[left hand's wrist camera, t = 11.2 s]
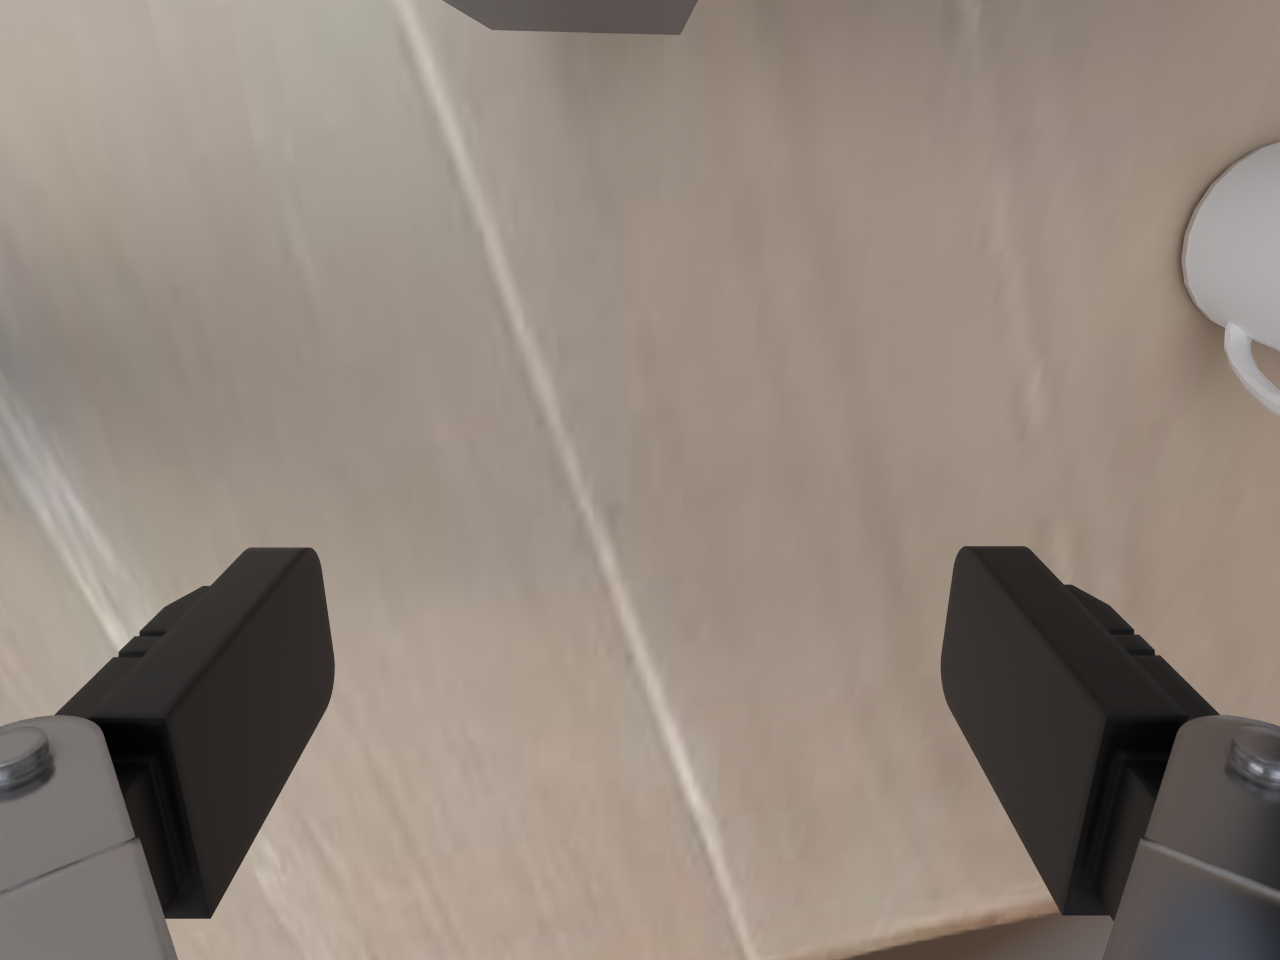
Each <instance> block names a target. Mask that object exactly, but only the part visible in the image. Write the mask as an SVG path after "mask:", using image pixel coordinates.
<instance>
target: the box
mask: <svg viewBox="0 0 1280 960" xmlns="http://www.w3.org/2000/svg"><path fill="white" fill-rule="evenodd" d="M443 1H444V2H446V3H448V4H449V5H451V6H453V7H454V8H456V9H458V10H459V11H461V12H463V13H464V14H466V15H468V16H469V17H471V18H473V19H475V20H476V21H478V22H480V23H481V24H483V25H485V26H486V27H488V28H490V29H491V30H514V31H552V32H589V33H626V34H663V35H680V34H681V32H682V30H683V28H684V26H685V24H686V22H687V20H688V18H689V16H690V15H691V13H692V11H693V9H694V7H695V5H696V3H697V1H698V0H443Z"/></svg>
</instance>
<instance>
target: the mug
mask: <svg viewBox="0 0 1280 960" xmlns="http://www.w3.org/2000/svg"><path fill="white" fill-rule="evenodd" d="M1181 260H1182V268H1183V276H1184V283H1185V286H1186V288H1187V290H1188V292H1189V294H1190V297H1191V299H1192V301H1193V303H1194V305H1195V306H1196V307H1197V308H1198V309H1199V310H1200V311H1201V312H1202V313H1203V314H1204V315H1205V316H1206V318H1207V319H1208V320H1210V321H1211V322H1213V323H1215V324H1217V325H1219V326H1221V327H1223V328H1225V341H1224V350H1225V353H1226V355H1227V358H1228V361H1229V364H1230V366H1231V368H1232V369H1233V371H1234V372H1235V373H1236V375H1237V376H1238V378H1239V379H1240V381H1241V382H1242V384H1243V385H1244V387H1245V388H1246V389H1247V390H1248V392H1249V393H1250V394H1252V395H1253V396H1254V397H1255V398H1256V399H1257V400H1258V401H1259V402H1260V403H1261V404H1262V405H1264V406H1265V407H1266V408H1267V409H1268V410H1269V411H1271V412H1273V413H1275V414H1277V415H1279V416H1280V389H1278V388H1277V387H1276V386H1275V385H1273V384H1272V383H1271V382H1270V381H1269V380H1267V379H1266V377H1265V376H1264V375H1263V374H1262V373H1261V372H1260V371H1259V369H1258V367H1257V365H1256V363H1255V361H1254V359H1253V356H1252V353H1251V343H1252V340H1253V341H1255V342H1258V343H1260V344H1263V345H1265V346H1267V347H1270V348H1272V349H1275V350H1277V351H1279V352H1280V141H1277V142H1274V143H1271V144H1268V145H1265V146H1263V147H1260V148H1257V149H1256V150H1254V151H1252V152H1251V153H1249V154H1248V155H1246V156H1244V157H1243V158H1241V159H1240V160H1238V161H1236V162H1235V163H1233V164H1232V165H1231V166H1230V167H1229V168H1228V169H1227V170H1226V171H1225V172H1224V173H1223V174H1222V175H1221V176H1220V177H1219V178H1218V179H1217V180H1216V181H1214V182H1213V183H1212V184H1211V186H1210V187H1209V188H1208V190H1207V191H1206V193H1205V194H1204V196H1203V197H1202V199H1201V200H1200V202H1199V203H1198V205H1197V206H1196V208H1195V209H1194V212H1193V214H1192V217H1191V219H1190V222H1189V224H1188V227H1187V230H1186V232H1185V236H1184V243H1183V250H1182V258H1181Z"/></svg>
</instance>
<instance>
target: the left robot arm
mask: <svg viewBox="0 0 1280 960" xmlns="http://www.w3.org/2000/svg"><path fill="white" fill-rule="evenodd" d="M334 671H335V664H334V653H333V646H332V639H331V632H330V625H329V618H328V611H327V604H326V597H325V589H324V582H323V575H322V569H321V564H320V560H319V558H318V555H317V553H316V552H315V551H314V550H313V549H312V548H248V549H246V550H245V551H244V552H243V553H242V554H241V555H240V556H239V557H238V558H237V559H236V560H235V561H234V562H233V563H232V564H231V565H230V566H229V567H228V568H227V569H226V570H225V572H224V573H223V574H222V575H221V576H220V577H219V578H218V579H217V580H216V581H215V582H214V583H213V584H212V585H211V586H202V587H200V588H199V589H197V590H195V591H193V592H191V593H189V594H188V595H186V596H184V597H182V598H180V599H178V600H177V601H175V602H173V603H171V604H169V605H167V606H166V607H164V608H163V609H162V610H161V611H160V612H159V613H158V614H157V615H156V616H155V617H154V618H153V619H152V620H151V621H150V622H149V623H148V624H147V625H146V626H145V627H144V628H143V629H142V630H141V631H140V636H135V637H134V638H133V639H132V640H131V641H129V642H128V643H127V644H126V645H125V646H124V647H123V648H122V649H121V650H120V651H119V656H118V657H113V658H112V659H111V660H110V661H109V662H108V663H107V664H106V665H105V666H104V667H103V668H102V669H101V670H100V671H99V672H98V673H97V674H96V675H95V676H94V677H93V678H92V679H91V680H90V681H89V682H88V683H87V684H86V685H85V686H84V687H83V688H82V689H81V690H80V691H78V692H77V693H76V694H75V695H74V696H73V697H72V698H71V699H70V700H69V701H68V702H67V703H66V704H65V705H64V706H63V707H62V708H61V709H60V710H59V711H58V712H57V713H56V714H55V715H54V716H43V717H36V718H30V719H25V720H21V721H17V722H13V723H10V724H6V725H3V726H0V960H178V958H177V955H176V952H175V949H174V946H173V942H172V939H171V936H170V933H169V930H168V927H167V923H166V920H165V919H211V917H212V915H213V913H214V912H215V910H216V908H217V906H218V904H219V903H220V901H221V899H222V897H223V895H224V893H225V892H226V890H227V888H228V886H229V884H230V883H231V881H232V879H233V877H234V875H235V874H236V872H237V870H238V868H239V866H240V865H241V863H242V861H243V859H244V857H245V855H246V854H247V852H248V850H249V848H250V846H251V845H252V843H253V841H254V839H255V837H256V836H257V834H258V832H259V830H260V828H261V826H262V825H263V823H264V821H265V819H266V817H267V816H268V814H269V812H270V810H271V808H272V807H273V805H274V803H275V801H276V799H277V798H278V796H279V794H280V792H281V790H282V788H283V787H284V785H285V783H286V781H287V779H288V778H289V776H290V774H291V772H292V770H293V769H294V767H295V765H296V763H297V761H298V759H299V758H300V756H301V754H302V752H303V750H304V749H305V747H306V745H307V743H308V741H309V740H310V738H311V736H312V734H313V732H314V731H315V729H316V727H317V725H318V723H319V721H320V720H321V718H322V716H323V714H324V712H325V711H326V709H327V706H328V704H329V701H330V698H331V694H332V689H333V683H334ZM941 679H942V686H943V691H944V695H945V699H946V701H947V704H948V706H949V708H950V710H951V712H952V714H953V716H954V718H955V719H956V721H957V723H958V725H959V727H960V729H961V730H962V732H963V734H964V736H965V738H966V740H967V741H968V743H969V745H970V747H971V749H972V751H973V752H974V754H975V756H976V758H977V760H978V762H979V763H980V765H981V767H982V769H983V771H984V773H985V774H986V776H987V778H988V780H989V782H990V784H991V785H992V787H993V789H994V791H995V793H996V795H997V796H998V798H999V800H1000V802H1001V804H1002V806H1003V807H1004V809H1005V811H1006V813H1007V815H1008V817H1009V818H1010V820H1011V822H1012V824H1013V826H1014V828H1015V829H1016V831H1017V833H1018V835H1019V837H1020V839H1021V840H1022V842H1023V844H1024V846H1025V848H1026V850H1027V851H1028V853H1029V855H1030V857H1031V859H1032V861H1033V862H1034V864H1035V866H1036V868H1037V870H1038V872H1039V873H1040V875H1041V877H1042V879H1043V881H1044V883H1045V884H1046V886H1047V888H1048V890H1049V892H1050V894H1051V895H1052V897H1053V899H1054V901H1055V903H1056V905H1057V906H1058V908H1059V910H1060V912H1061V914H1062V915H1110V916H1111V918H1112V919H1113V921H1114V924H1113V927H1112V930H1111V933H1110V936H1109V939H1108V942H1107V946H1106V949H1105V952H1104V955H1103V958H1102V960H1280V726H1277V725H1274V724H1270V723H1267V722H1263V721H1259V720H1255V719H1250V718H1244V717H1237V716H1226V715H1220V714H1219V713H1218V712H1217V711H1216V710H1215V709H1214V708H1213V707H1212V706H1211V705H1210V704H1209V703H1208V702H1207V701H1206V700H1205V699H1204V698H1203V697H1202V696H1200V695H1199V694H1198V693H1197V692H1196V691H1195V690H1194V689H1193V688H1192V687H1191V686H1190V685H1189V684H1188V683H1187V682H1186V681H1185V680H1184V679H1183V678H1182V677H1181V676H1180V675H1179V674H1178V673H1177V672H1176V671H1175V670H1174V669H1173V668H1172V667H1171V666H1170V665H1169V664H1168V663H1167V662H1166V661H1165V660H1164V659H1163V658H1162V657H1161V656H1160V655H1155V650H1154V649H1153V648H1152V647H1151V646H1150V645H1149V644H1148V643H1147V642H1146V641H1145V640H1144V639H1143V638H1142V637H1141V636H1140V635H1134V629H1133V628H1132V627H1131V626H1130V625H1129V624H1128V623H1127V622H1126V621H1125V620H1124V619H1123V618H1122V617H1121V616H1120V615H1119V614H1118V613H1117V612H1116V611H1115V610H1114V609H1113V608H1112V607H1111V606H1110V605H1108V604H1106V603H1104V602H1102V601H1100V600H1099V599H1097V598H1095V597H1093V596H1091V595H1089V594H1088V593H1086V592H1084V591H1082V590H1080V589H1078V588H1077V587H1075V586H1073V585H1064V584H1063V583H1062V582H1061V581H1060V580H1059V579H1058V578H1057V577H1056V576H1055V575H1054V574H1053V573H1052V572H1051V571H1050V570H1049V569H1048V568H1047V567H1046V566H1045V565H1044V563H1043V562H1042V561H1041V560H1040V559H1039V558H1038V557H1037V556H1036V555H1035V554H1034V553H1033V552H1032V551H1031V550H1030V549H1029V548H1027V547H1025V546H964V547H962V548H961V549H960V551H959V552H958V554H957V557H956V560H955V563H954V569H953V576H952V583H951V590H950V597H949V604H948V611H947V618H946V625H945V632H944V640H943V647H942V654H941Z"/></svg>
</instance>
